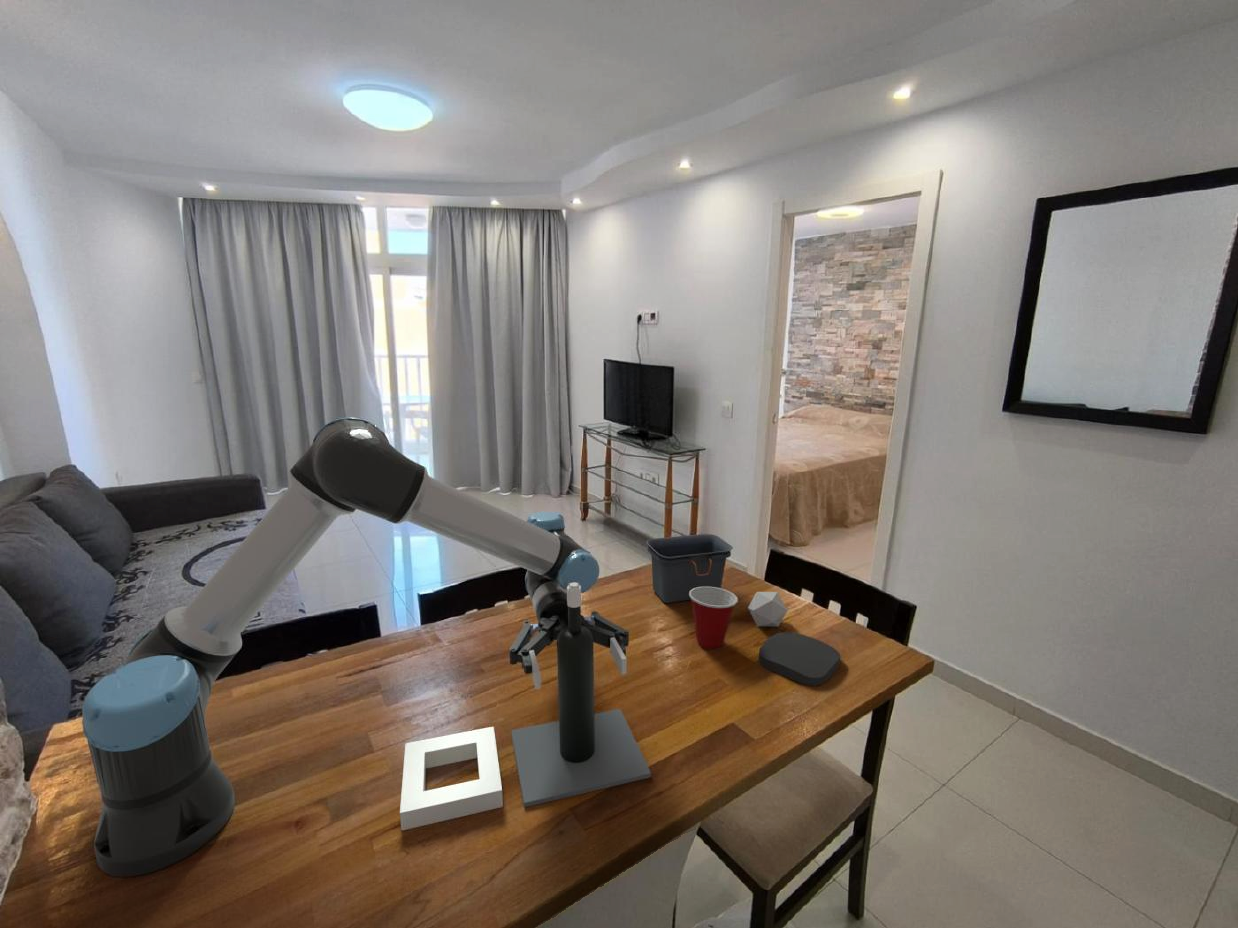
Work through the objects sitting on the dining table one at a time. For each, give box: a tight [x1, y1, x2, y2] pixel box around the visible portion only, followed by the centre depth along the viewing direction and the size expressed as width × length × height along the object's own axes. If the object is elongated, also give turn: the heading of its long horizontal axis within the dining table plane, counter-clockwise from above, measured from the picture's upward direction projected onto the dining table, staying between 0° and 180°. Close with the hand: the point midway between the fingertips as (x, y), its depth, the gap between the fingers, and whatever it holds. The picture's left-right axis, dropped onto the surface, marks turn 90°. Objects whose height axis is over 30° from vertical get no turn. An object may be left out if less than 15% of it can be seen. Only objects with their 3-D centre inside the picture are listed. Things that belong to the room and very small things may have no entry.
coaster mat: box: [510, 708, 652, 808], centre depth 92 cm, size 20×16×1 cm
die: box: [747, 591, 788, 628], centre depth 134 cm, size 8×9×10 cm
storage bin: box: [645, 533, 734, 604], centre depth 147 cm, size 21×16×14 cm
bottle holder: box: [399, 726, 504, 831], centre depth 86 cm, size 14×14×3 cm
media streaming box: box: [758, 631, 841, 687], centre depth 119 cm, size 15×15×3 cm
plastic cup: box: [689, 586, 739, 650], centre depth 125 cm, size 11×11×12 cm
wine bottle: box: [556, 582, 595, 763], centre depth 88 cm, size 6×6×30 cm
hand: (582, 674), depth 85 cm, fingers open, 13 cm apart
